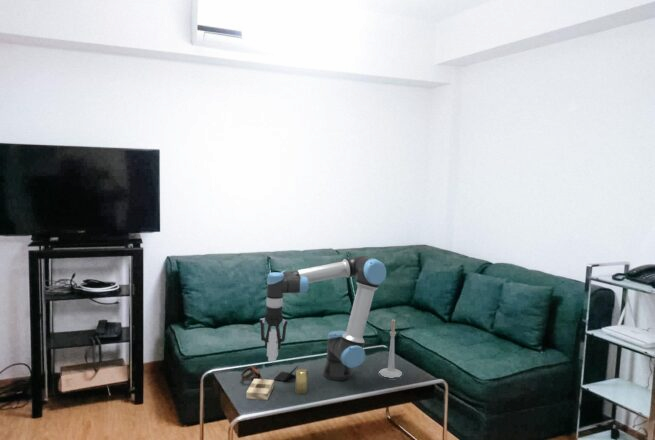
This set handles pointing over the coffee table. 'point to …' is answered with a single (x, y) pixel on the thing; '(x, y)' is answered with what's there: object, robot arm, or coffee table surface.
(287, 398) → the coffee table surface
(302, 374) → the round brass bit
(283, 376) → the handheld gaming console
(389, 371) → the candlestick
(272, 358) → the square steel bit
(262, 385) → the socket plate
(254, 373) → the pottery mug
